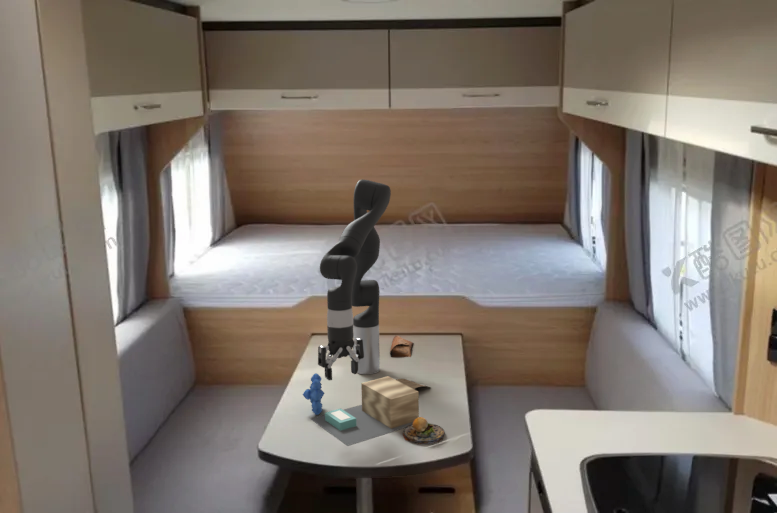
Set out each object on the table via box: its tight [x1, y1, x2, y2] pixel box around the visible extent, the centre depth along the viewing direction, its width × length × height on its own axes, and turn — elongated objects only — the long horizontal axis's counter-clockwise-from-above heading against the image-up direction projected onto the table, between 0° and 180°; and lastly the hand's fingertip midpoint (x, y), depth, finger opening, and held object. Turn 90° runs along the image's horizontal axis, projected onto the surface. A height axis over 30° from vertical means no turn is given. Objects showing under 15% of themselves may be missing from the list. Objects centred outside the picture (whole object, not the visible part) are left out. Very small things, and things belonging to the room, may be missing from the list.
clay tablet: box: [394, 378, 431, 390], centre depth 231 cm, size 16×11×3 cm
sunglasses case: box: [389, 334, 414, 358], centre depth 273 cm, size 18×7×7 cm
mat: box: [310, 404, 413, 447], centre depth 208 cm, size 22×26×1 cm
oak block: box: [360, 375, 420, 428], centre depth 210 cm, size 16×10×9 cm, turn 34°
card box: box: [324, 408, 356, 431], centre depth 206 cm, size 9×6×2 cm, turn 34°
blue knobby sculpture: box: [302, 373, 325, 416], centre depth 214 cm, size 12×7×12 cm, turn 6°
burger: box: [402, 416, 446, 446], centre depth 197 cm, size 12×12×8 cm
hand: (341, 376), depth 204 cm, fingers open, 8 cm apart
